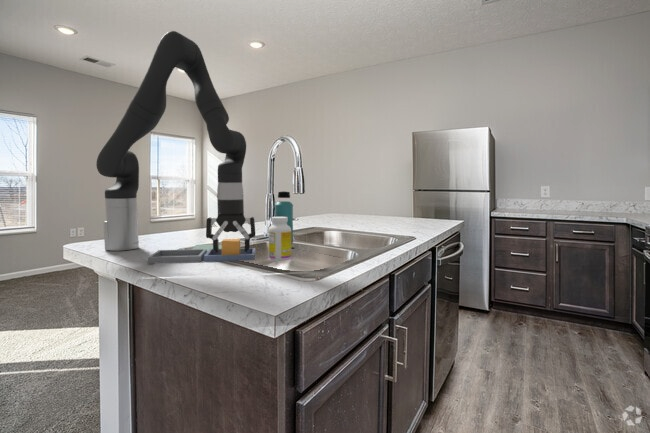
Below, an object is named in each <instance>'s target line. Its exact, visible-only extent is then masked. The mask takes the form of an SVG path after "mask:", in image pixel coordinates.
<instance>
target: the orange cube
mask: <svg viewBox="0 0 650 433" xmlns="http://www.w3.org/2000/svg"><path fill="white" fill-rule="evenodd" d="M220 244H222V255H240V248H241V238H223V239H222V240H221V243H220Z"/></svg>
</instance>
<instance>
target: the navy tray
mask: <svg viewBox="0 0 650 433" xmlns="http://www.w3.org/2000/svg"><path fill="white" fill-rule="evenodd" d="M255 257H256V247H250V248H249V250H247V252H245V247H243V248H242V247H240V255H222V249H219V252H215V251H214V250H213V249H209V250H208V252H207V253H206V254H205V255H204V258H203V262H228V261H229V262H230V261H231V262H232V261H233V262H234V261H236V262H237V261H255V260H256V258H255Z"/></svg>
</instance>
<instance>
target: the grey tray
mask: <svg viewBox="0 0 650 433" xmlns="http://www.w3.org/2000/svg"><path fill="white" fill-rule="evenodd" d="M206 253H207V249H193V248H191V249H190V248H189V249H158V250H156V252H154V253H152V254H151V255H149V256H148V257H147V258H146V259H147V265H149V266H150V265H151V266H152V265H155V264H157V263H158V264H159V263H161V264H163V263H193V262H195V263H197V262H198V263H199V262H202V260H204V255H205V254H206Z"/></svg>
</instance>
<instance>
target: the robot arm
mask: <svg viewBox="0 0 650 433" xmlns="http://www.w3.org/2000/svg"><path fill="white" fill-rule="evenodd" d="M175 68H176V69H179V70H181V71H184V73H185V74H186V76H188V78H189V79H190V81H191V83H192V85H193V89H194V101H195V104H196V107H197V109H198V111H199V113H200V115H201V117H202V119H203V121H204V123H205V125H206V130H207V134H208V139H209V141H210V144H211V146H212V147H213V148H214V149H215V151H217V152H218V153H220V154H225V157H224V160H223V162H220V163H219V164H217V189H216V190H217V193H216V199H217V200H216V201H217V217H210V216H209V217H207V218H206V222H205V223H206V226H205V227H206V229H205V232H206V233H205V237H206V238H207V239H211V240H212V244H213V250H214V251H215V252H219V244H220V243H219V241H220V240H219V237H220V235H221V234H222V233H223V232H224V233H230V232H232V233H236V232H239V233H240V234H241V235H242V237H244V248H245V252H247V250H249V248H251V245H250V244H251V243H250V241H251V240H250V239H251V238H255V237H256V224H255V222H256V221H255V217H254V216H251V217H245V215H244V213H245V212H244V209H245V206H244V203H245V202H244V198H245V197H244V186H243V166H244V163H245V158H246V153H247V141H246V138H245V135H243V134H242V133H241V132H240V131H237V130H233V129H230V128H229V127H228V125H227V124H228V123H229V122H230V116H229V113H228V112H227V110H226V107H225V106H224V104H223V102H222V99H221V98H220V97H219V95H218V93H217V90H216V89H215V87H214V84H213V81H212V78H211V76H210V73H209V71H208V68H207V65H206V62H205V59H204V55H203V53H202V51H201V48H200V47H199V45H198V44H197V43H196V42H195V41H194V40H191V38H189V37H186V36H185V35H183V34H181V33H180V32H178V31H175V30H170V31H167V32H166V33H164V35H163V36H162V37H161V39H160V40H159V42H158V44H157V46H156V48H155V50H154V54H153V57H152V59H151V62H150V64H149V67H148V69H147V70H146V73H145V74H144V77H143V79H142V81H141V82H140V85H139V87H138V89H137V91H136V92H135V94H134V96H133V97H132V99H131V101H130V103H129V104H128V106H127V108H126V110H125V113H124V114H123V117H122V118H121V119H120V121H119V123H118V125H117V126H116V128H115V130H114V132H113V133H112V135H110V138H108V140H107V142H106V143H105V144H104V146H103V147H102V149H101V150H100V152H99V154H98V155H97V157H96V158H97V159H96V165H95V166H96V169H97V171H98V173H99V174H100V175H101V176H103V177H106V178H115V183H114V184H113V185H112V186H110V187H109V188H106V189H105V190H104V202H105V204H104V205H105V220H104V221H103V237H104V238H103V239H104V250H105V251H112V252H113V251H116V252H117V251H118V252H119V251H121V252H122V251H130V250H134V249H135V250H136V249H138V248H139V244H140V243H139V224H138V223H139V222H138V221H139V220H138V202H137V201H138V200H137V198H138V197H137V193H138V191H139V188H140V187H139V185H140V167H139V166H140V164H139V160H138V157H137V155H136V154H135V153H134V152H133V151H131V150H130V149H131V147H133V145H134V144H135V143H136V142H138V141H139V140H140V139H141V140H142V138H143V137H145V136H146V135H149V133H151V132H152V131H153V130H154V129H155V128H156V127H157V126H158V125H159V122H160V121H161V119H162V117H163V116H164V114H165V112H166V108H167V84H168V81H169V78H170V76H171V75H172V73H173V71H174V69H175ZM215 222H216V223H217V225H218V226H219V228H218V229H217V231H216V232H215V234H213V232H212V229H213V228H212V227H213V226H214V224H215ZM245 222H247V225H250V226H249V227H250V233H248V232H247V230H246V229H245V228H244V227H243V226H244V224H245Z"/></svg>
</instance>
